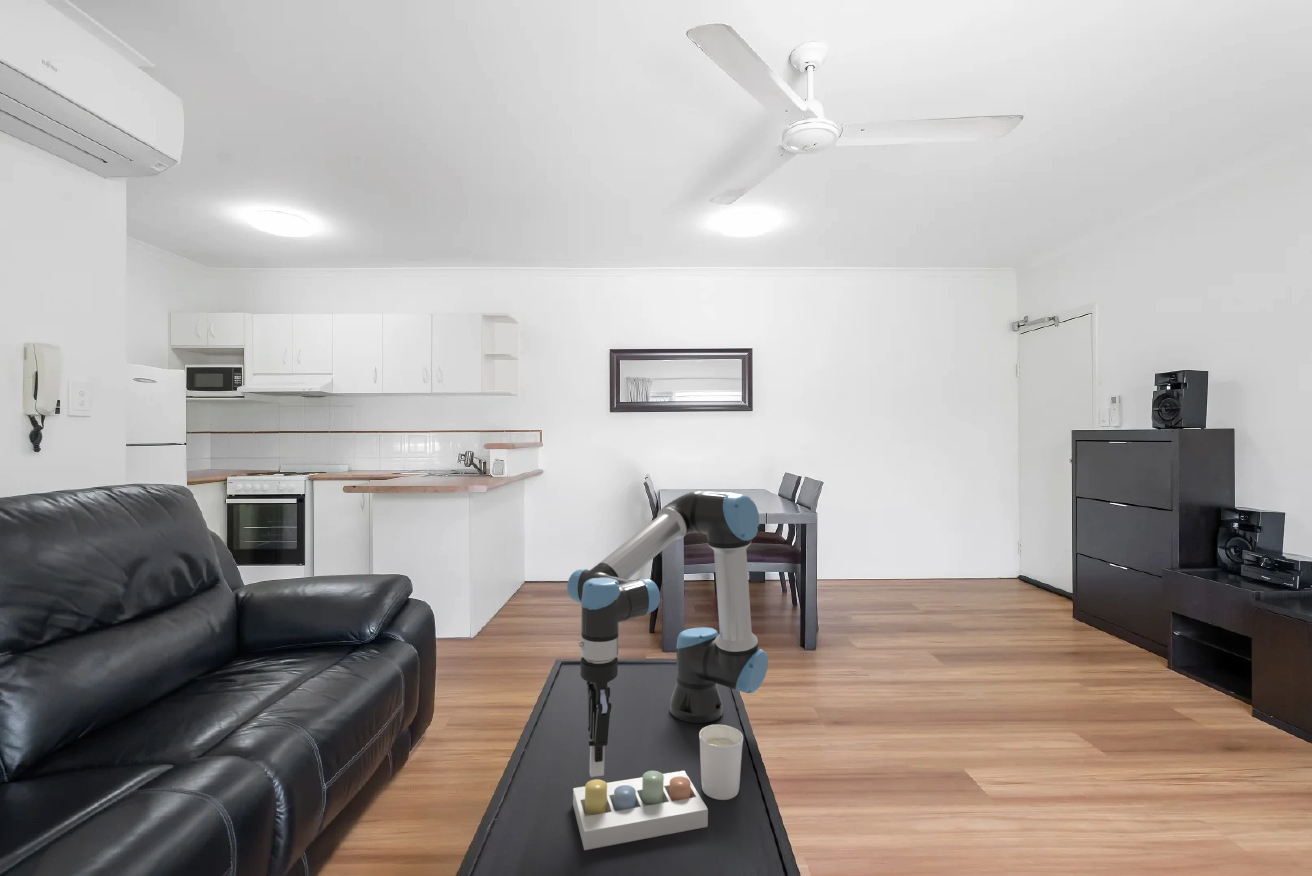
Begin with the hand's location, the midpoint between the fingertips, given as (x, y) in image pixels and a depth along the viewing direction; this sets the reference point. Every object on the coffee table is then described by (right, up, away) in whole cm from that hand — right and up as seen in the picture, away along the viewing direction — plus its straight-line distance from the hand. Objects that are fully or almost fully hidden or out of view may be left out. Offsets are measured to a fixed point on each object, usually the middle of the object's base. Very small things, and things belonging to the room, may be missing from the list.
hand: (596, 773), depth 115 cm
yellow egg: (0, -7, 0) cm, 7 cm away
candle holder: (+26, -11, +12) cm, 31 cm away
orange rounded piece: (+17, -9, +5) cm, 20 cm away
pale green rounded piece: (+11, -7, +4) cm, 14 cm away
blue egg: (+5, -9, +2) cm, 11 cm away
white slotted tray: (+8, -10, +3) cm, 13 cm away
